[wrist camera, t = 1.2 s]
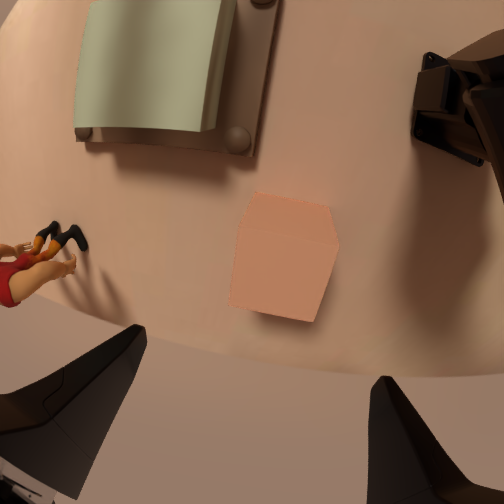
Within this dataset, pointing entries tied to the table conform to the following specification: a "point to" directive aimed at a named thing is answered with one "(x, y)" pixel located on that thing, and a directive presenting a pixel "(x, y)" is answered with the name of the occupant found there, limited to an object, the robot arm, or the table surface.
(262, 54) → the tower base
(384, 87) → the table surface
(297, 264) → the terracotta brick
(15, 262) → the action figure
